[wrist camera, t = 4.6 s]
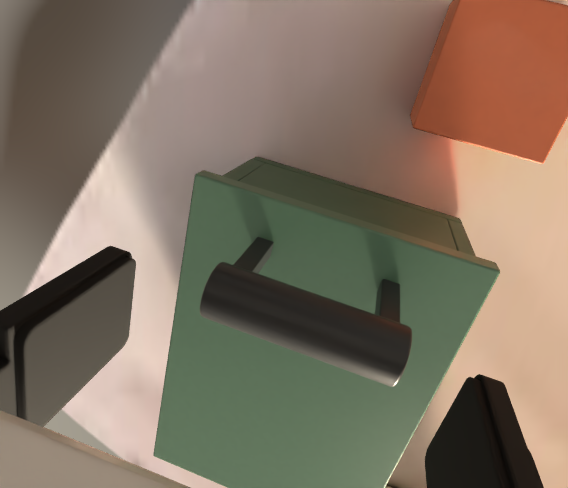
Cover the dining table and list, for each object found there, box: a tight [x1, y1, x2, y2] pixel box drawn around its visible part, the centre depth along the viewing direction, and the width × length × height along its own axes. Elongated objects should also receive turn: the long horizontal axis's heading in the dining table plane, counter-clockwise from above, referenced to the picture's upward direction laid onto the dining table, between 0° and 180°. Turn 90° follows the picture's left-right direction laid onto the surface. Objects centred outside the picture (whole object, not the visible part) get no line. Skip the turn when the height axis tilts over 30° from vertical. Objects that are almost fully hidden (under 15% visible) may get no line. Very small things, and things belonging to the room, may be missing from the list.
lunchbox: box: [223, 157, 475, 256], centre depth 23 cm, size 16×12×7 cm
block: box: [410, 0, 568, 164], centre depth 17 cm, size 5×5×5 cm
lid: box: [154, 170, 500, 488], centre depth 17 cm, size 16×12×6 cm
